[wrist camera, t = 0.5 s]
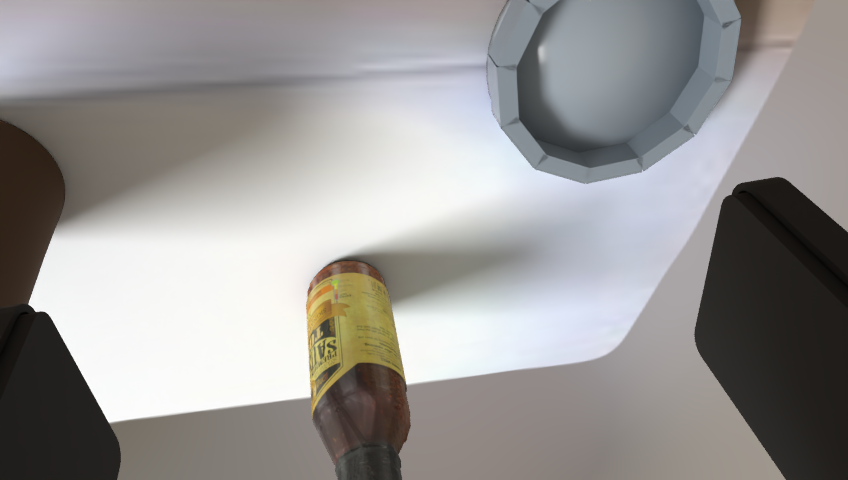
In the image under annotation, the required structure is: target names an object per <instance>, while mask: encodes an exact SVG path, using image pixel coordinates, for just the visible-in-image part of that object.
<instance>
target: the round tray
mask: <svg viewBox="0 0 848 480" xmlns="http://www.w3.org/2000/svg"><path fill="white" fill-rule="evenodd" d="M740 25H741V16H740V13H739V11H738V9H737V7H736V5H735V2H734V0H508V1H507V2H506V4H505V6H504V8H503V10H502V12H501V13H500V15H499V17H498V20H497V22H496V25H495V28H494V30H493V33H492V36H491V40H490V44H489V48H488V56H487V84H488V90H489V95H490V98H491V105H492V113H493V115H494V117H495V118H496V120H497V122H498V123H499V125H500V127H501V129H502V130H503V131H504V132H505V134H506V135H507V136H508V137H509V139H510V140H511V141H512V142H513V143H514V145H515V146H516V147H517V148H518V150H519V151H520V152H521V153H522V155H523V156H524V157H525V158H526V160H527V161H528V162H529V163H530V164H531V166H532V167H533V168H535V169H536V170H539V171H543V172H546V173H550V174H553V175H556V176H560V177H563V178H567V179H570V180H574V181H577V182H580V183H584V184H585V183H586V184H588V183H592V182H597V181H602V180H607V179H611V178H616V177H621V176H626V175H630V174H635V173H640V172H642V170H643V171H645V170H646V169H648V168H649V167H651V166H652V165H654V164H655V163H656V162H658V161H659V160H661V159H662V158H664V157H665V156H666V155H668V154H669V153H671V152H672V151H674V150H675V149H677V148H678V147H679V146H681V145H682V144H684V143H685V142H687V141H688V140H690V139H691V138H692V137H694V134H697V132H698V131H699V129H700V128H701V126H702V125H703V123H704V122H705V120H706V119H707V117H708V116H709V114H710V113H711V111H712V110H713V108H714V107H715V105H716V104H717V102H718V101H719V99H720V98H721V96H722V95H723V93H724V92H725V90H726V89H727V87H728V86H729V84H730V83H731V81H730V80H732V77H733V71H734V64H735V58H736V51H737V45H738V38H739V32H740Z"/></svg>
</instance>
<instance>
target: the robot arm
mask: <svg viewBox="0 0 848 480" xmlns="http://www.w3.org/2000/svg"><path fill="white" fill-rule="evenodd" d="M695 342H696V346H697V349H698V351H699V353H700V355H701V357H702V358H703V360H704V361H705V363H706V364H707V365H708V367H709V368H710V370H711V371H712V373H713V374H714V376H715V377H716V378H717V380H718V381H719V383H720V384H721V386H722V387H723V388H724V390H725V392H726V393H727V395H728V396H729V397H730V399H731V400H732V402H733V403H734V405H735V406H736V408H737V409H738V410H739V412H740V413H741V415H742V416H743V418H744V419H745V421H746V422H747V424H748V425H749V426H750V428H751V429H752V431H753V432H754V434H755V435H756V436H757V438H758V440H759V441H760V442H761V444H762V445H763V447H764V448H765V450H766V451H767V452H768V454H769V456H770V457H771V458H772V460H773V461H774V463H775V464H776V466H777V467H778V469H779V470H780V471H781V473H782V474H783V476H784V477H785V479H786V480H848V232H847V231H846V230H844V229H843V228H842V227H841V226H839V224H837V223H836V222H835V221H834V220H833V219H832V218H830V217H829V216H828V215H827V214H826V213H824V211H822V210H821V209H820V208H819V207H818V206H816V205H815V204H814V203H813V202H812V201H811V200H810V199H808V198H807V197H806V196H805V195H804V194H803V193H801V192H800V191H799V190H798V189H797V188H796V187H794V186H793V185H792V184H791V183H790V182H789V181H787V180H786V179H784V178H780V177H775V178H769V179H763V180H757V181H751V182H745V183H741V184H738V185H737V186H736V187H735V188H734V190H733V192H732V195H729V196H727V197H726V198H725V199H724V200H723V202H722V205H721V210H720V215H719V219H718V224H717V228H716V234H715V238H714V243H713V247H712V252H711V257H710V261H709V266H708V271H707V275H706V280H705V285H704V290H703V294H702V299H701V303H700V308H699V313H698V317H697V322H696V327H695ZM120 462H121V453H120V447H119V442H118V440H117V437H116V436H115V434H114V432H113V430H112V429H111V426H110V425H109V423H108V421H107V419H106V417H105V416H104V414H103V412H102V410H101V408H100V406H99V405H98V403H97V401H96V399H95V397H94V396H93V394H92V392H91V390H90V388H89V386H88V385H87V383H86V381H85V379H84V377H83V376H82V374H81V372H80V370H79V368H78V366H77V365H76V363H75V361H74V359H73V357H72V356H71V354H70V352H69V350H68V348H67V346H66V345H65V343H64V341H63V339H62V337H61V336H60V334H59V332H58V330H57V328H56V326H55V325H54V323H53V321H52V319H51V318H50V316H49V315H48V314H47V313H45V312H35V311H34V309H33V308H32V307H31V306H29V305H28V304H23V303H22V304H16V305H10V306H4V307H0V480H117V477H118V472H119V468H120Z"/></svg>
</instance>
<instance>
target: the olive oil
mask: <svg viewBox="0 0 848 480" xmlns="http://www.w3.org/2000/svg"><path fill="white" fill-rule="evenodd" d="M64 200H65V186H64V181H63V177H62V174H61V172H60V169H59V167H58V166H57V164H56V162H55V161H54V159H53V158H52V156H51V155H50V154H49V153H48V151H47V150H46V149H45V148H44V147H43V146H42V145H41V144H40V143H39V142H37V141H36V140H35V139H34V138H32V137H31V136H30V135H28V134H27V133H25V132H24V131H22V130H20V129H19V128H17V127H15V126H13V125H11V124H9V123H6V122H4V121H1V120H0V307H4V306H10V305H16V304H22V303H23V304H28V303H29V300H30V297H31V294H32V291H33V288H34V285H35V282H36V280H37V277H38V274H39V271H40V268H41V265H42V262H43V259H44V257H45V254H46V251H47V249H48V246H49V243H50V241H51V238H52V235H53V233H54V230H55V228H56V225H57V222H58V220H59V217H60V215H61V212H62V209H63V205H64Z"/></svg>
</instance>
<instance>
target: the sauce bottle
mask: <svg viewBox="0 0 848 480" xmlns="http://www.w3.org/2000/svg"><path fill="white" fill-rule="evenodd" d="M306 309H307V329H308V347H309V370H310V384H311V405H312V420H313V423H314V426H315V427H316V429H317V431H318V433H319V435H320V437H321V439H322V441H323V443H324V445H325V447H326V449H327V451H328V453H329V455H330V457H331V459H332V461H333V463H334V465H335V467H336V468H335V472H336V476H337V477H338V480H402V476H401V470H400V468H401V460H400V458H399V455H398V454H399V452H400V450H401V448H402V446H403V443H404V442H405V441H406V440H407V436H408V432H409V429H410V426H411V425H410V411H409V405H408V401H407V397H406V390H407V388H406V381H405V376H404V370H403V365H402V360H401V355H400V350H399V344H398V339H397V333H396V328H395V323H394V317H393V312H392V307H391V302H390V298H389V294H388V291H387V289H386V287H385V283H384V280H383V278H382V277H381V275H380V274H379V273H378V271H377V270H376V269H375V268H373V267H371V266H370V265H368V264H367V263H362V262H359V261H340V262H336V263H333V264H330V265H329V266H327V267H325V268H323V269H322V270H321V271H320V272H319V273H318V274H317V275H316V276H315V277H314V279H313V280H312V282H311V283H310V287H309V290H308V299H307V304H306Z"/></svg>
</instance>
